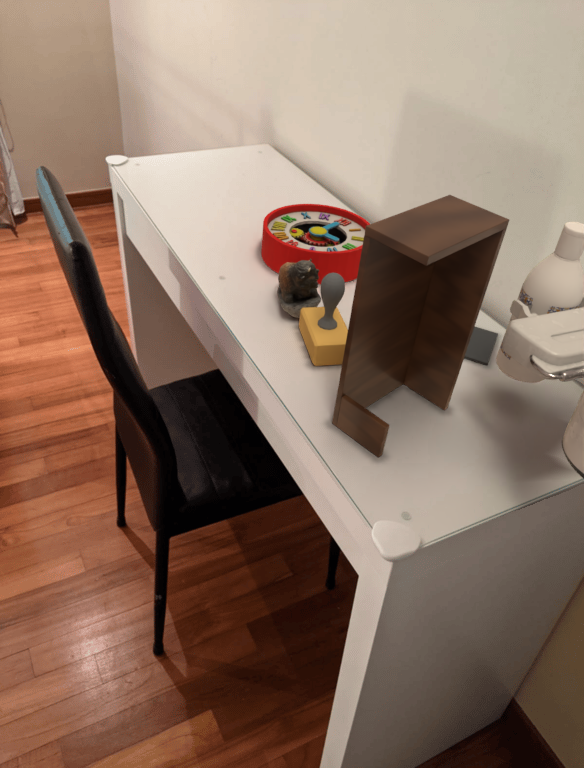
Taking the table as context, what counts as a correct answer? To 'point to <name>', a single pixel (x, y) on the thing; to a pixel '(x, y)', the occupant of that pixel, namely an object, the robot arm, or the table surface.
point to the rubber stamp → (325, 324)
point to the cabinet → (414, 308)
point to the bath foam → (551, 290)
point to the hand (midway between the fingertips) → (543, 299)
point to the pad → (481, 345)
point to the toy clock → (314, 238)
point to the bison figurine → (298, 286)
